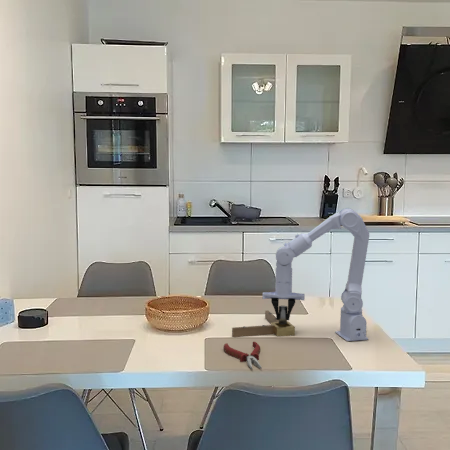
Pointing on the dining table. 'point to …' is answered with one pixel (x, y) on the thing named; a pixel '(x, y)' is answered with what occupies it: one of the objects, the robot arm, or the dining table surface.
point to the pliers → (245, 355)
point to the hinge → (265, 328)
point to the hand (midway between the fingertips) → (282, 319)
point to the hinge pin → (283, 315)
